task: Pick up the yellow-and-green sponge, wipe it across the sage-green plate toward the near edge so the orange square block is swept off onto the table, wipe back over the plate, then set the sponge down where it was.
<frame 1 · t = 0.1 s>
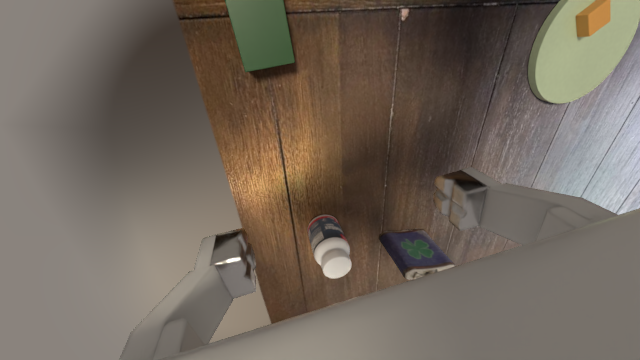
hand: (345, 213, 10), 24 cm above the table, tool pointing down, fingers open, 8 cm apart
flask: (400, 234, 47), on the table
sponge: (258, 23, 26), on the table
pill bottle: (322, 225, 41), on the table
orange square block: (586, 18, 33), point 1 cm above the table, touching plate
plate: (578, 44, 36), on the table
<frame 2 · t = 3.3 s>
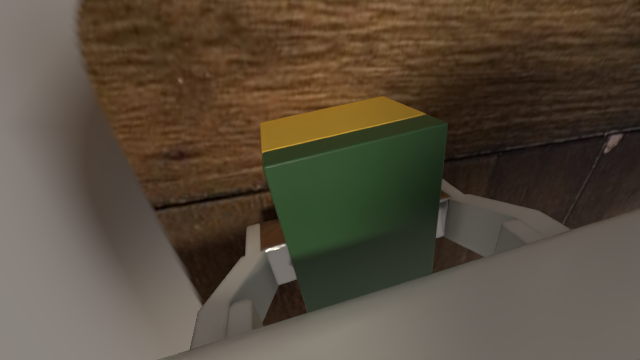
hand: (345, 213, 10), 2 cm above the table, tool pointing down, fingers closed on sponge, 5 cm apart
sponge: (335, 193, 12), on the table, touching gripper
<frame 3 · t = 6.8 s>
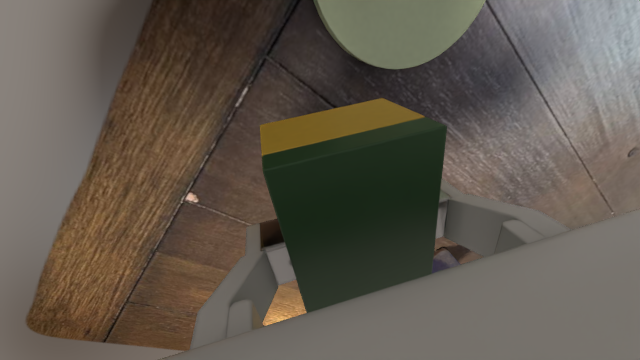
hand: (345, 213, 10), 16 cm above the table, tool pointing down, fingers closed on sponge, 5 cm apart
flask: (422, 266, 40), on the table
sponge: (335, 194, 12), point 14 cm above the table, touching gripper
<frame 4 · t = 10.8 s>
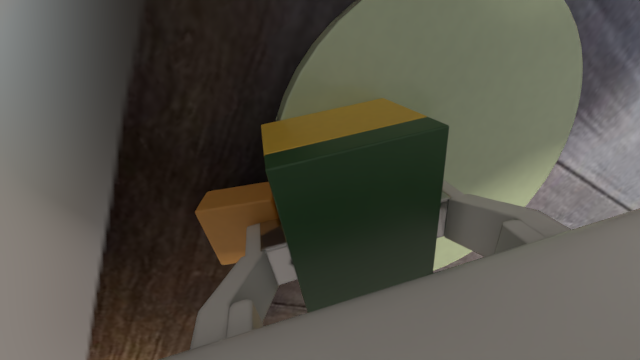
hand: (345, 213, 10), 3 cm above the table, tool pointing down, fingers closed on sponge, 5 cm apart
sponge: (336, 194, 12), point 1 cm above the table, touching gripper
orange square block: (250, 212, 11), point 1 cm above the table, tilted 10°
plate: (422, 157, 13), on the table
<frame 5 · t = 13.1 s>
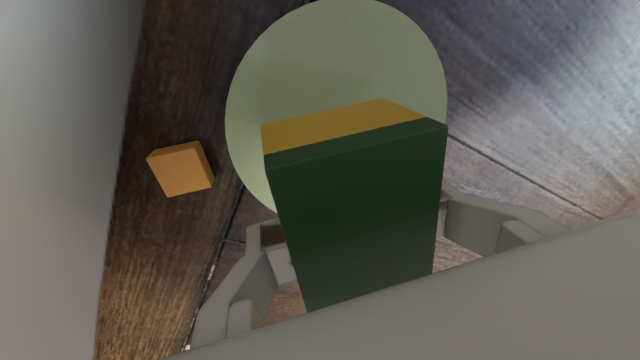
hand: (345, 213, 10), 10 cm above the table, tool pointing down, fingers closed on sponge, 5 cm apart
sponge: (335, 194, 12), point 8 cm above the table, touching gripper
orange square block: (185, 164, 18), on the table
plate: (339, 129, 19), on the table
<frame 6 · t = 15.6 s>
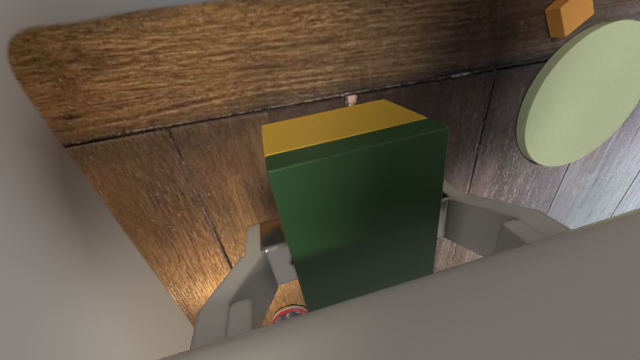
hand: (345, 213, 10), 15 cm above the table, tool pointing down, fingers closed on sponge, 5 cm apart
sponge: (336, 195, 12), point 13 cm above the table, touching gripper
pill bottle: (290, 314, 37), on the table
orange square block: (560, 12, 24), on the table
plate: (577, 100, 30), on the table
when the fingers open (1 cm above the table, at t = 19.9 s): sponge stays where it is, on the table.
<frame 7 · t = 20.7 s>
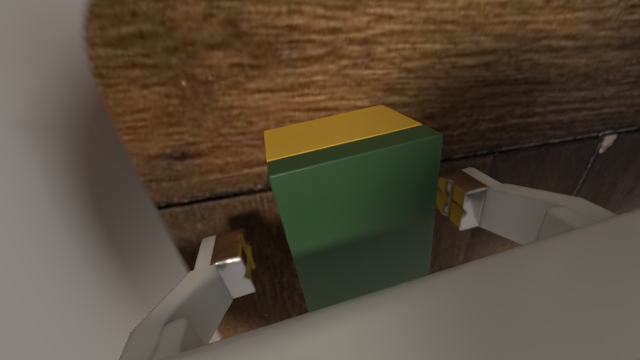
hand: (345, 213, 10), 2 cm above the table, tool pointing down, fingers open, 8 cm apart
sponge: (336, 197, 12), on the table
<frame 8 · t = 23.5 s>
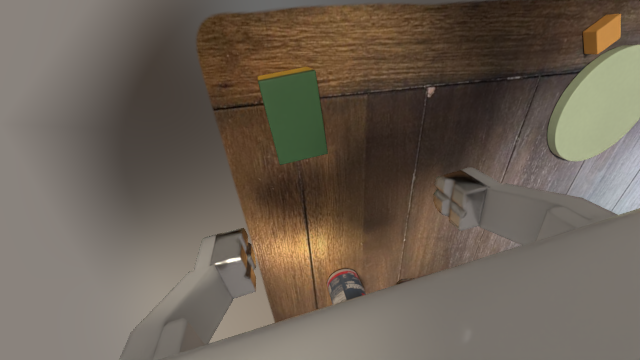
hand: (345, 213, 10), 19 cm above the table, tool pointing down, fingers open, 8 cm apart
sponge: (291, 111, 27), on the table
pill bottle: (341, 278, 42), on the table
orange square block: (594, 35, 31), on the table
plate: (597, 107, 36), on the table
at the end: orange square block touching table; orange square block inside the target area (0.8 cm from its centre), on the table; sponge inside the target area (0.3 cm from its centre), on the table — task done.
